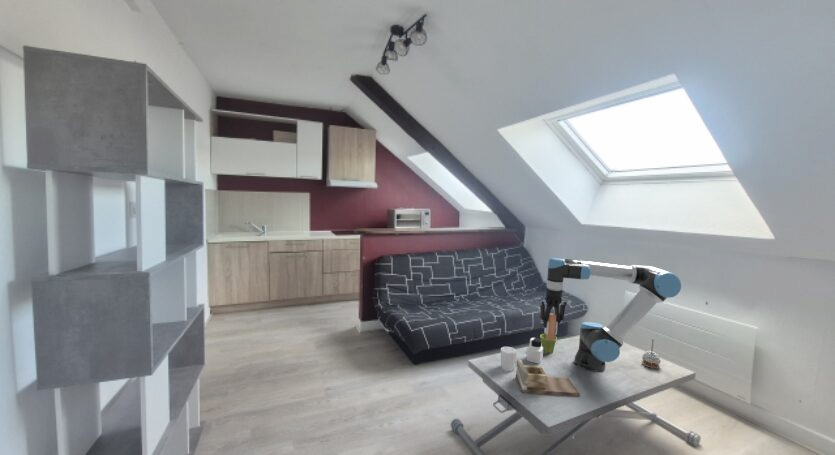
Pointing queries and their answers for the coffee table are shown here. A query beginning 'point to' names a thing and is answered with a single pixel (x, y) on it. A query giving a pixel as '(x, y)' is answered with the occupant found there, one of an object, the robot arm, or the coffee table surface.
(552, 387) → the board
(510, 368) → the white cup
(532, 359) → the medicine bottle
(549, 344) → the plant pot
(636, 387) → the coffee table surface
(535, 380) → the open wooden box
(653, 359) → the cupcake with stick
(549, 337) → the dowel
